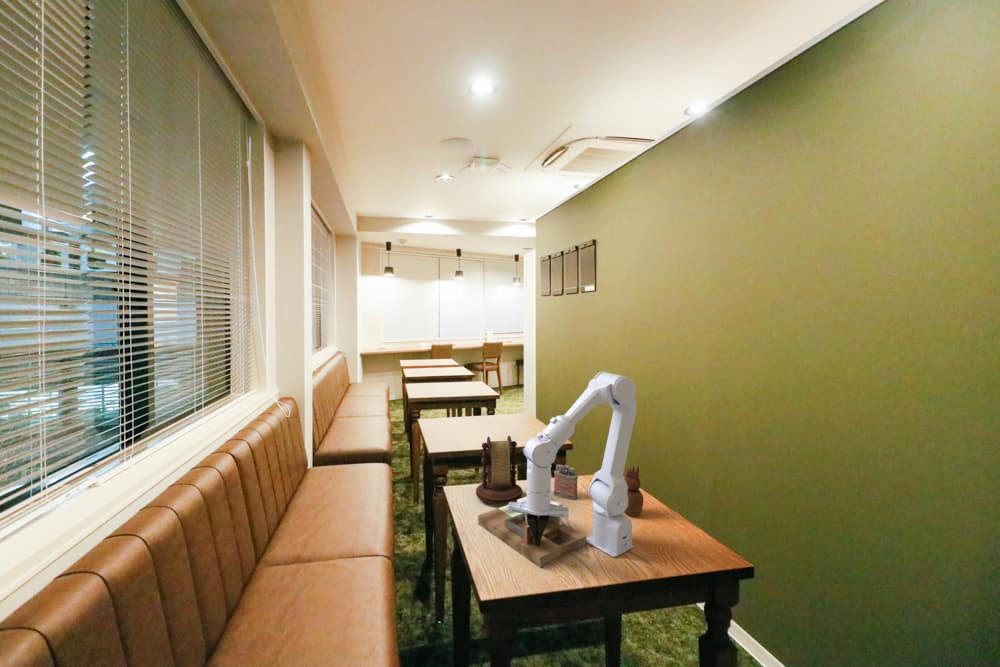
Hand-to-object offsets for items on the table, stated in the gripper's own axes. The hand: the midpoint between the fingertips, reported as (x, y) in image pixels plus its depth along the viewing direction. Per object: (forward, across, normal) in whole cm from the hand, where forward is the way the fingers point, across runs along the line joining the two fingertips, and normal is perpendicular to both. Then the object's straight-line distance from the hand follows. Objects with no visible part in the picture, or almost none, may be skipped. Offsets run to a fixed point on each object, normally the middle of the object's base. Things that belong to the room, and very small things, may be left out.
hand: (537, 543), depth 103 cm
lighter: (+4, -6, -36) cm, 37 cm away
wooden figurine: (+4, -25, -28) cm, 38 cm away
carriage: (+1, +3, -8) cm, 9 cm away
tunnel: (+3, +3, -10) cm, 11 cm away
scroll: (+4, +15, -31) cm, 35 cm away
